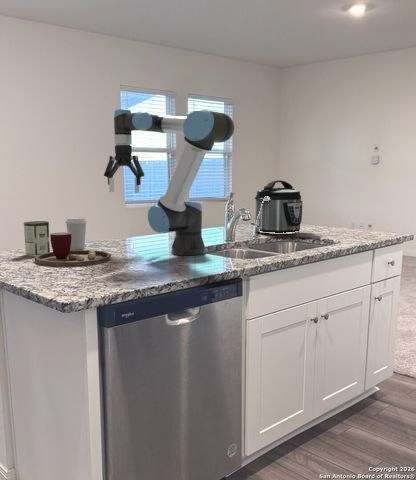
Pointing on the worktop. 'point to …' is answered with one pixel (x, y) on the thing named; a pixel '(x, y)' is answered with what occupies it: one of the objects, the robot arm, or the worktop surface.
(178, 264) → the worktop surface
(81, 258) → the bead
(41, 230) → the coffee can
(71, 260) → the ring tray
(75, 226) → the coffee cup
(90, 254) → the bead
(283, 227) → the pressure cooker
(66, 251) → the mug
